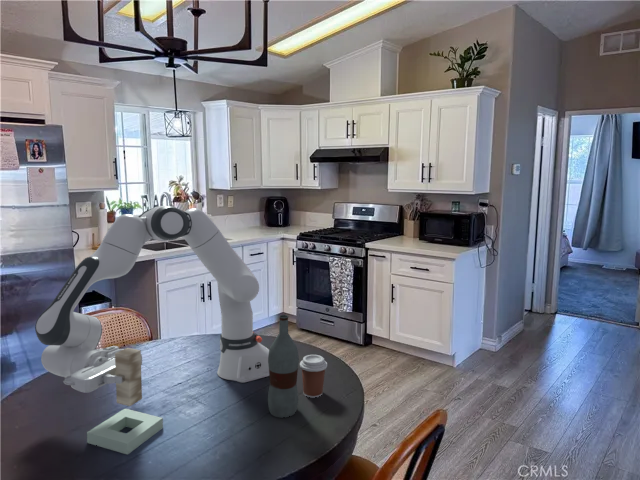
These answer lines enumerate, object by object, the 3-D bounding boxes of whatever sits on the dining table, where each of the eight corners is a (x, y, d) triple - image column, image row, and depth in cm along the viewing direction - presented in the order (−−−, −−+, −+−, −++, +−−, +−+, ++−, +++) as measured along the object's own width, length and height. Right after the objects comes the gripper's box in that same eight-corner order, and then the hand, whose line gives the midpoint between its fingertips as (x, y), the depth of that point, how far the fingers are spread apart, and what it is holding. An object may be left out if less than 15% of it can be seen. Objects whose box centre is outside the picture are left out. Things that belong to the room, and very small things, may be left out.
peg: (129, 395, 128) (127, 347, 126) (142, 398, 126) (140, 350, 124) (116, 403, 124) (114, 353, 122) (129, 406, 122) (128, 356, 120)
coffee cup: (317, 402, 146) (317, 366, 144) (293, 394, 150) (294, 360, 149) (331, 391, 153) (332, 357, 152) (309, 384, 158) (309, 351, 156)
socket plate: (125, 418, 134) (124, 408, 134) (163, 427, 130) (162, 417, 129) (87, 442, 122) (86, 432, 121) (127, 454, 117) (127, 443, 117)
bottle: (299, 404, 144) (301, 312, 140) (296, 419, 135) (297, 321, 131) (270, 402, 145) (270, 310, 141) (265, 417, 136) (265, 320, 132)
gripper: (58, 370, 118) (99, 379, 113) (119, 343, 137) (156, 351, 132) (59, 393, 119) (100, 403, 114) (119, 363, 138) (157, 371, 133)
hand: (131, 375), depth 123 cm, fingers closed on peg, 4 cm apart
